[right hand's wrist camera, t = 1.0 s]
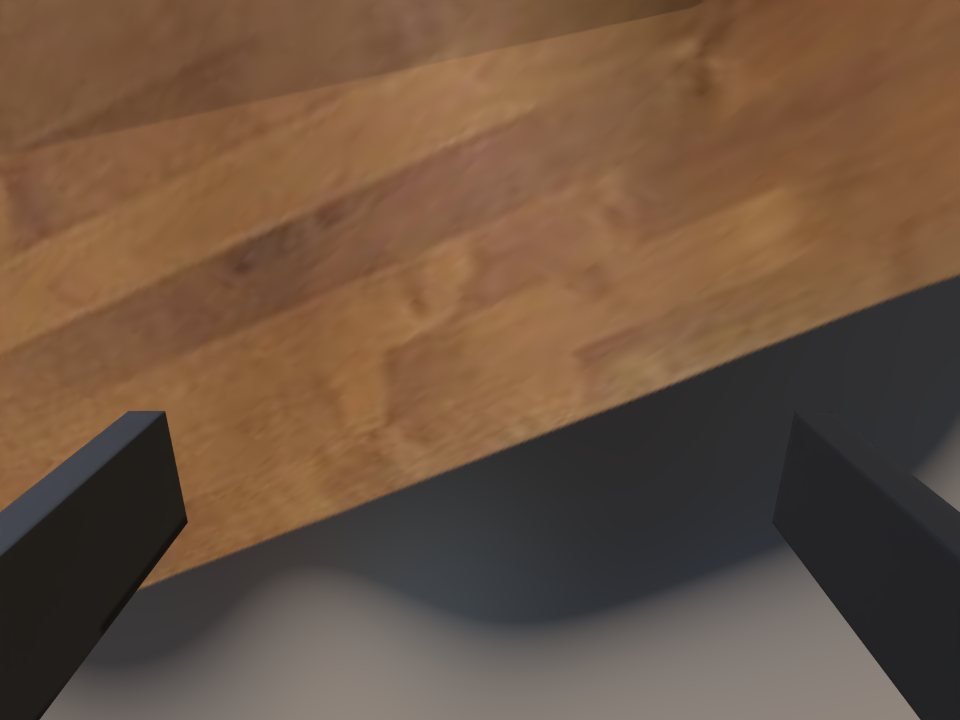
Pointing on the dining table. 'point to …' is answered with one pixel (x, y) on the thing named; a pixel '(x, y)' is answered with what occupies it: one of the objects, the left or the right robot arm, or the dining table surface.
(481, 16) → the dining table surface
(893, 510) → the right robot arm
